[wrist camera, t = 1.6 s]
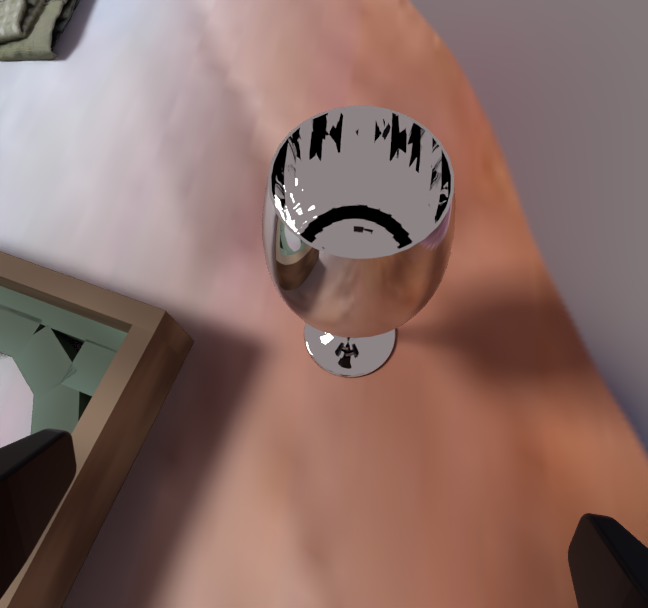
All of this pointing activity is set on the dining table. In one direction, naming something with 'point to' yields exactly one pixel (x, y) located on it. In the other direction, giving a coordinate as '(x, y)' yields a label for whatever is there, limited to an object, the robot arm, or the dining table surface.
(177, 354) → the caddy
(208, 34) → the dining table surface
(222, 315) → the dining table surface
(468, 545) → the dining table surface
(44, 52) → the dish towel
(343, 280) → the wineglass
